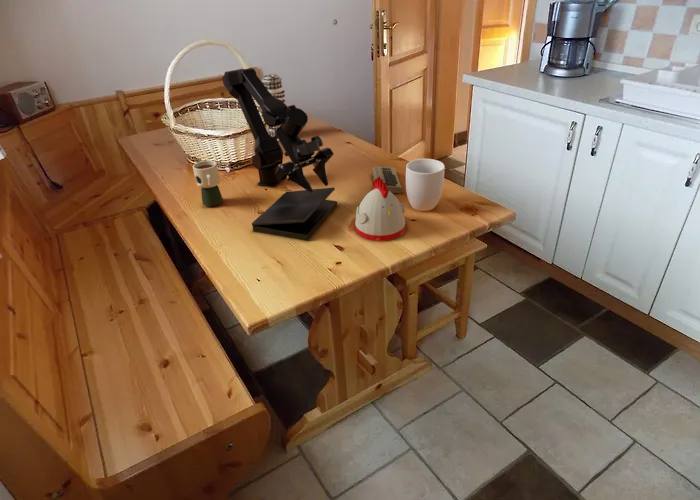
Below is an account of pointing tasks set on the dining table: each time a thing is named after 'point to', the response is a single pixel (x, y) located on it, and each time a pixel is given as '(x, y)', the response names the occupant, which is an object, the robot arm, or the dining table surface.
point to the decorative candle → (274, 93)
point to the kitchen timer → (380, 214)
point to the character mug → (208, 182)
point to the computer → (388, 178)
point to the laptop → (300, 224)
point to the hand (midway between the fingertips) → (319, 188)
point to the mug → (424, 183)
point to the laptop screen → (293, 207)
